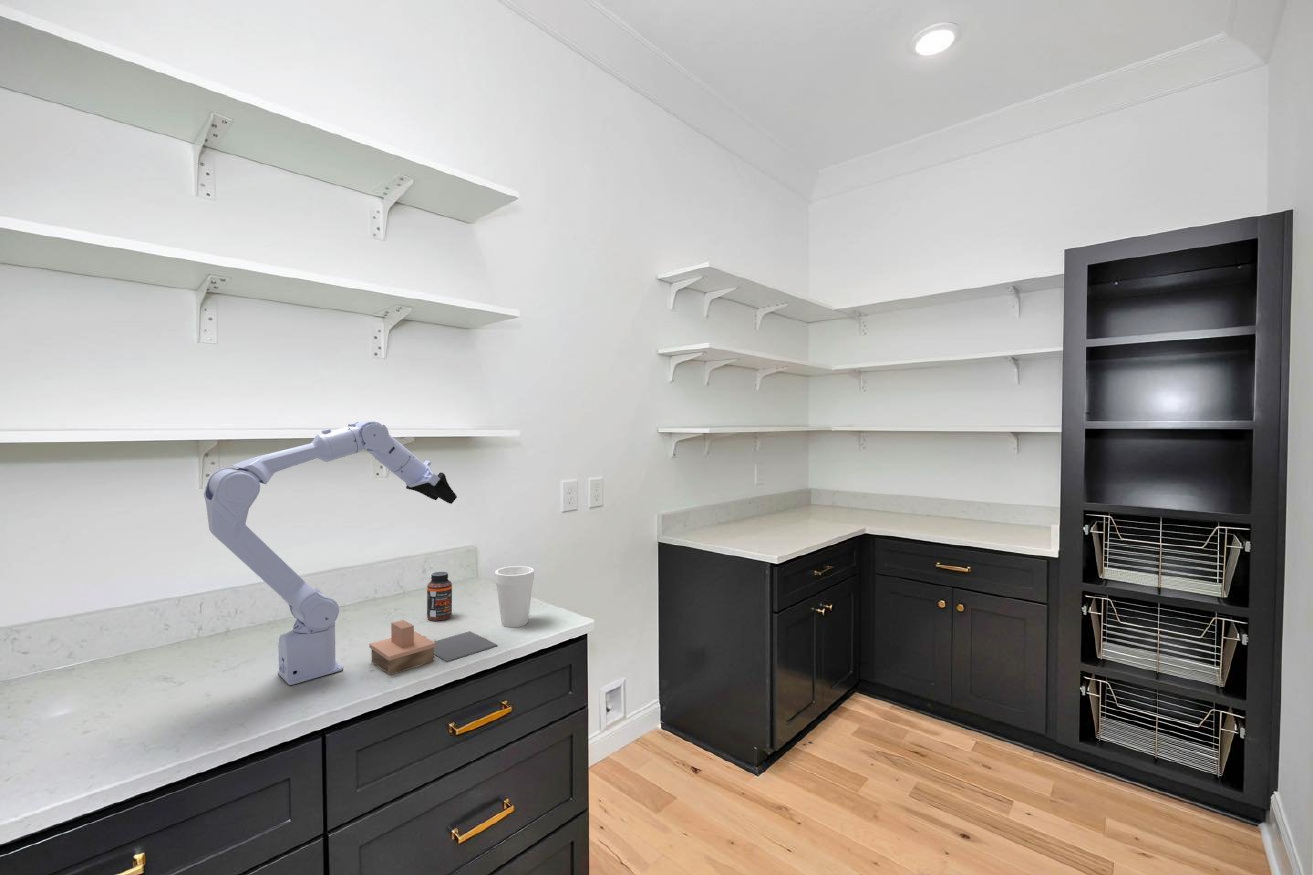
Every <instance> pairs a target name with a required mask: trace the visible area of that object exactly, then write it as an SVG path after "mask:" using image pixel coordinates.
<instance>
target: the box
mask: <svg viewBox="0 0 1313 875" xmlns="http://www.w3.org/2000/svg"><path fill="white" fill-rule="evenodd" d="M434 658H435V655H434V647H433V648H430V649H427V650H423V651H420V652H417V653H413V654H410V655H406V656H403V657H400V658H396V659H393V660H389V661H388V660H387V659H386V658H384V657H383V656H381V655H380V654H378V653H377V652H375V651H374V650H372V649H371V662H372V664H374V665H375V666H377V667H378V668H380V669H381V670H382V671H384V672H385V673H387V674H388V675H389V676H391V675H394V674H397V673H400V672H404V671H406V670H410V669H413V668H416V667H420V666H423V665H427V664H429V663H433V662H434V661H435V659H434Z"/></svg>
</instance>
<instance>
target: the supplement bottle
mask: <svg viewBox="0 0 1313 875" xmlns="http://www.w3.org/2000/svg"><path fill="white" fill-rule="evenodd" d="M448 578H449V572H447V571H435V572H433V573H431V578H430V579H431V580H430V581H429V582H428V584H427V586H426V587H427V588H426V615H427V616H426V618H427V619H428V620H430V621H432V622H433V621H435V622H438V621H445V620H448V619H449V618H451V617H452V616H453V583H452V581H451V580H449V579H448Z"/></svg>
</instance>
